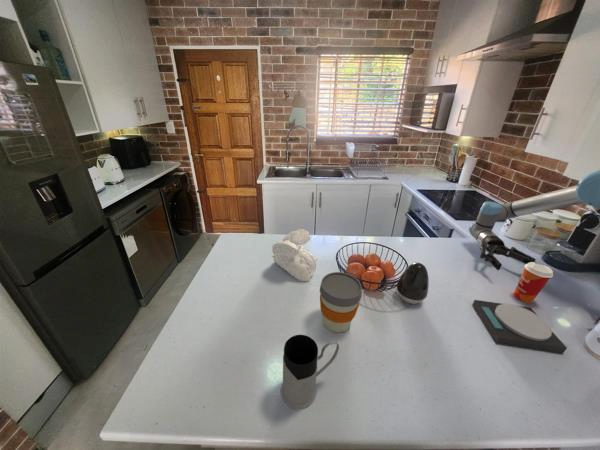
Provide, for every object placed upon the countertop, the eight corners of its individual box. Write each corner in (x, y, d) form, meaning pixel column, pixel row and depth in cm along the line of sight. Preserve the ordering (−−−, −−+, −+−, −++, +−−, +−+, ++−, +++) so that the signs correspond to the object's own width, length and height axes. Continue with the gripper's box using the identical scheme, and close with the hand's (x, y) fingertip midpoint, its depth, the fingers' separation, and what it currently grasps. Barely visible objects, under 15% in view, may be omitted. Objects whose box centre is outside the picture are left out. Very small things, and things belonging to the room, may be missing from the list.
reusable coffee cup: (333, 343, 72) (338, 305, 66) (309, 315, 82) (312, 279, 75) (364, 326, 79) (372, 289, 72) (338, 301, 88) (343, 267, 81)
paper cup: (509, 288, 98) (525, 258, 91) (534, 296, 94) (552, 266, 88) (510, 299, 92) (527, 268, 86) (537, 308, 88) (556, 277, 82)
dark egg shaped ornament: (388, 292, 93) (396, 259, 86) (409, 285, 97) (418, 253, 90) (408, 311, 85) (419, 276, 78) (430, 303, 89) (443, 269, 82)
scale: (527, 312, 86) (532, 305, 85) (562, 353, 72) (569, 345, 71) (472, 305, 89) (475, 297, 87) (495, 343, 75) (500, 335, 73)
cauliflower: (320, 272, 88) (278, 235, 89) (291, 300, 98) (254, 267, 100) (334, 249, 104) (299, 218, 105) (308, 275, 114) (277, 247, 116)
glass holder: (276, 379, 63) (275, 338, 56) (326, 360, 68) (331, 321, 61) (287, 415, 56) (288, 374, 49) (342, 392, 60) (350, 351, 54)
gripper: (516, 252, 115) (549, 281, 96) (459, 246, 119) (480, 272, 100) (524, 238, 112) (559, 265, 93) (464, 232, 115) (487, 257, 96)
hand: (518, 269), depth 96 cm, fingers open, 13 cm apart
